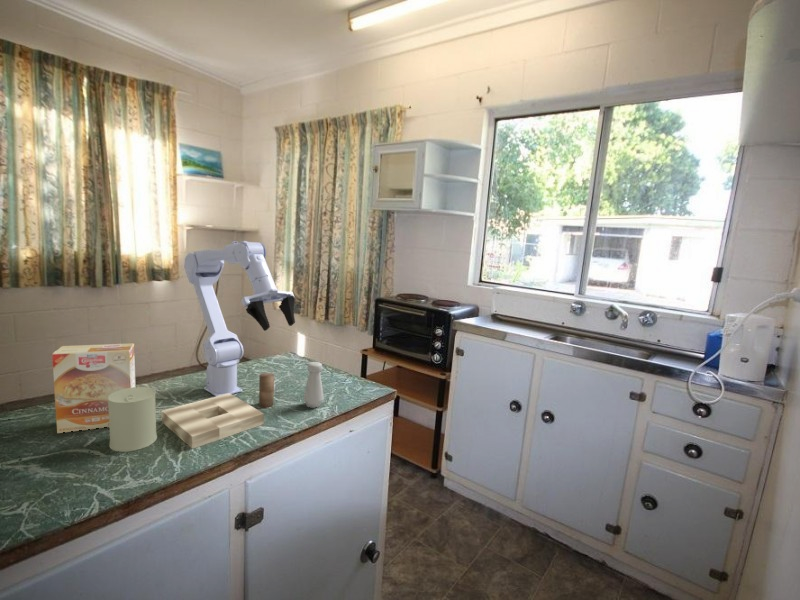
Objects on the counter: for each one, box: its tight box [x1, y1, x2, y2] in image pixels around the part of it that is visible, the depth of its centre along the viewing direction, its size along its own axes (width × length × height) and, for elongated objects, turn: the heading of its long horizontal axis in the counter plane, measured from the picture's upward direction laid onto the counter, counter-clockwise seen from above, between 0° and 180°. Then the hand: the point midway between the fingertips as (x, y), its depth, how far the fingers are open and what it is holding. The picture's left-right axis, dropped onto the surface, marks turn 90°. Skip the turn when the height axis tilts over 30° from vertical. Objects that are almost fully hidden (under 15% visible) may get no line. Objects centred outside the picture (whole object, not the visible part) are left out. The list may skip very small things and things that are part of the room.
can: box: [108, 386, 158, 453], centre depth 92 cm, size 9×9×12 cm
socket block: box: [160, 393, 265, 450], centre depth 104 cm, size 18×18×3 cm
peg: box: [258, 372, 275, 409], centre depth 116 cm, size 4×4×9 cm
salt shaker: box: [303, 361, 324, 409], centre depth 118 cm, size 6×6×13 cm
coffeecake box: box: [52, 342, 136, 434], centre depth 99 cm, size 15×7×20 cm, turn 115°
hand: (280, 326), depth 105 cm, fingers open, 7 cm apart
